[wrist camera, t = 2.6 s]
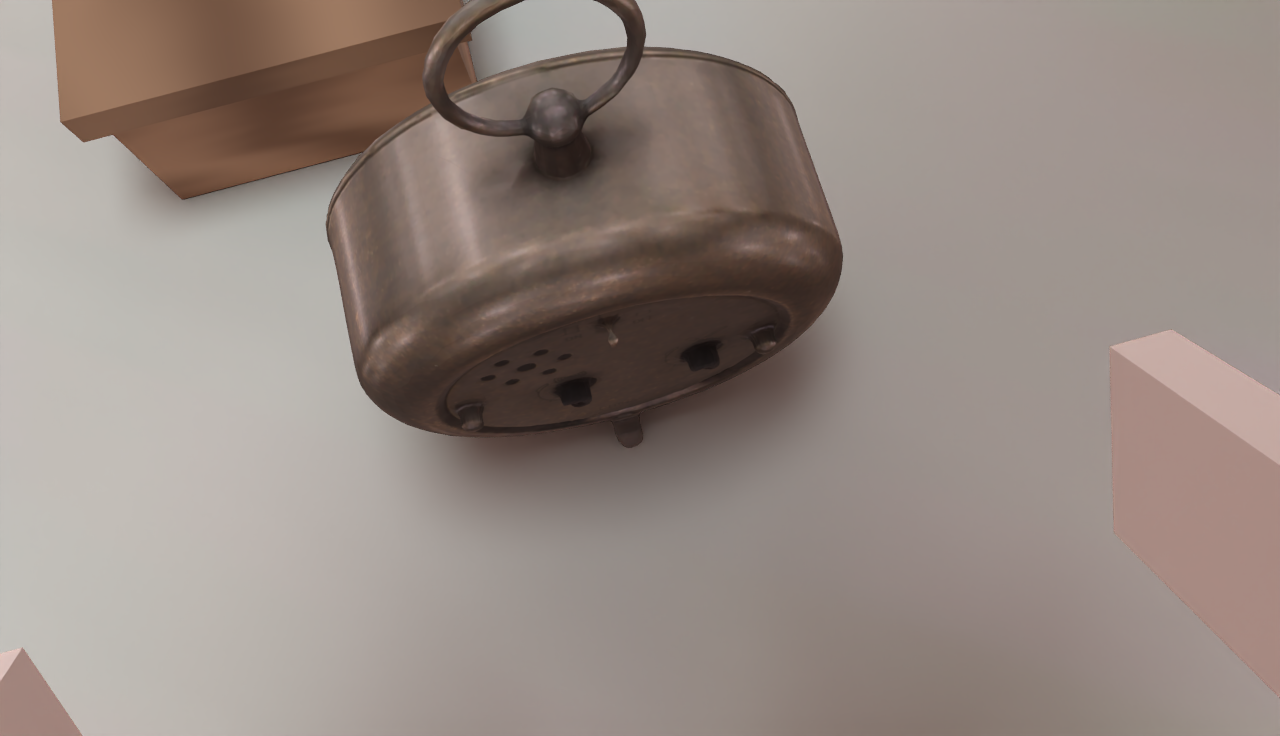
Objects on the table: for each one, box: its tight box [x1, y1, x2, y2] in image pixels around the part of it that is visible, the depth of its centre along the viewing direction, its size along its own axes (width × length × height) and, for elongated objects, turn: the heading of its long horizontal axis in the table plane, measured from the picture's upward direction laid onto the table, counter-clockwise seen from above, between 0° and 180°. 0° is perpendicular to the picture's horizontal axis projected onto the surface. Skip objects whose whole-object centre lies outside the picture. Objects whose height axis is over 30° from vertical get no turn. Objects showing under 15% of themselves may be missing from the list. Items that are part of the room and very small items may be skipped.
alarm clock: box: [326, 0, 843, 447], centre depth 20 cm, size 11×5×16 cm, turn 105°
